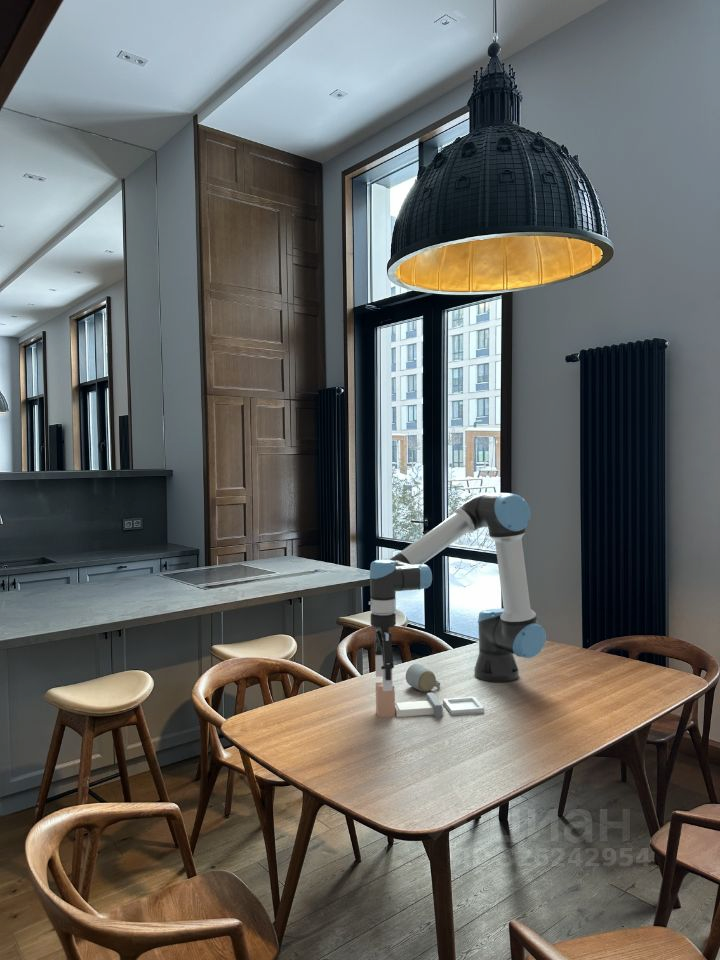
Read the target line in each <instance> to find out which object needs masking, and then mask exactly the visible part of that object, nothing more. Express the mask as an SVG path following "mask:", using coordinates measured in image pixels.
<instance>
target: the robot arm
mask: <svg viewBox="0 0 720 960" xmlns="http://www.w3.org/2000/svg"><path fill="white" fill-rule="evenodd" d="M531 515H532V513H531V508H530V506H529V503H528V502H527V501H526V500H525V498H524V497H522V496H521V495H519V494H517V493H516V494H515V493H511V492H492V491H490V492H487V491H486V492H482V493H480V494H477V495H475V496H474V497H472V498H470V499H469V500H467V501H465V502H464V503H463V504H461V505H459V506H458V507H456V508H455V509H454V511H453V514H451V515H450V516H449V517H448V518H446V519H445V520H444V521H442V522H440V523H439V524H438V525H437V526H435V527H434V528H432V529H431V530H429V531H428V532H427V533H425V534H424V535H422V536H421V537H420V538H418V539H417V540H415V541H414V542H412V543H410V544H409V545H408V546H406V547H405V548H403V550H401V551H400V552H398V553H397V554H395V555H394V556H392V557H389V558H383V559H375V560H374V561H372V562H371V563H370V568H369V583H370V585H369V587H370V590H369V591H370V593H369V594H370V601H368V605H369V606H370V612H371V614H370V625H371V627H373V628H375V636H374V647H373V650H374V654H375V657H374V658H375V677H377V678H378V677H380V678H381V677H382V682H383V691H392V683H393V669H394V668H395V665H394V655H393V644H392V643H393V642H392V633H391V632H390V630H389V629H390V628H394V627H395V626H396V624H397V622H396V621H397V620H396V619H397V618H396V616H397V615H396V613H395V612H396V611H397V608H396V607H397V604H396V603H397V602H396V600H397V596H396V593H397V592H402V591H403V592H405V591H406V592H407V591H416V590H418V591H420V590H423V589H428V588H429V587H431V585H432V581H433V574H432V570H431V568H430V566H428V565H427V564H425V563H426V562H428V561H429V560H431V559H432V558H434V557H435V556H436V555H438V554H439V553H441V552H442V551H444V550H445V549H446V548H447V547H449V546H450V545H452V544H453V543H454V542H456V541H458V540H459V539H460V538H461V537H463V536H464V535H465V534H468V533H469V534H472V533H473V532H475V531H476V530H478V529H482V528H488V529H487V530H488V533H489V538H490V539H492V540H493V541H494V544H495V551H496V552H495V553H496V559H497V566H498V567H497V568H498V575H499V581H500V590H501V597H502V606H503V607H502V608H489V609H484V610H481V611H480V612H479V613H478V617H477V618H478V621H477V623H478V624H477V625H478V656H477V659H476V662H475V665H474V670H473V671H474V676H475V678H477V679H479V680H482V681H486V682H494V683H495V682H496V683H504V682H512V681H514V680H516V679H518V678H519V676H520V675H519V673H520V672H519V667H518V664H517V660H516V658H515V656H517V657H520V658H525V659H531V658H534V657H536V656H538V655H539V654H540V653H541V652H542V649H544V647H545V644H546V641H547V640H546V639H547V633H546V630H545V628H543V626H542V625H541V624H539V623H538V621H537V613H536V612H535V611H534V610H533V609H532V608H531V601H530V592H529V587H528V580H527V579H528V577H527V571H526V562H525V556H524V555H525V554H524V549H523V536H524V535H525V534H526V527H527V526H528V525H529V522H530V520H531Z"/></svg>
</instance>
